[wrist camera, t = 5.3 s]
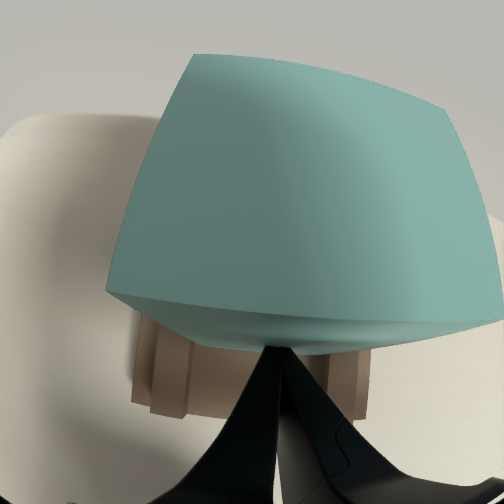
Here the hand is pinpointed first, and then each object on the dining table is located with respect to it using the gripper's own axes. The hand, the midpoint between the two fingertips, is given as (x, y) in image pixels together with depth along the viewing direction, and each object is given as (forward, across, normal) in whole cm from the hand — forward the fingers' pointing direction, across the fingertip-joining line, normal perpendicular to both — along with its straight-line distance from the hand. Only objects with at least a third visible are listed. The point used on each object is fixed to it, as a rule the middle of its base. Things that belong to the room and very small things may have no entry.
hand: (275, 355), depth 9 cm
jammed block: (+6, 0, +2) cm, 6 cm away
